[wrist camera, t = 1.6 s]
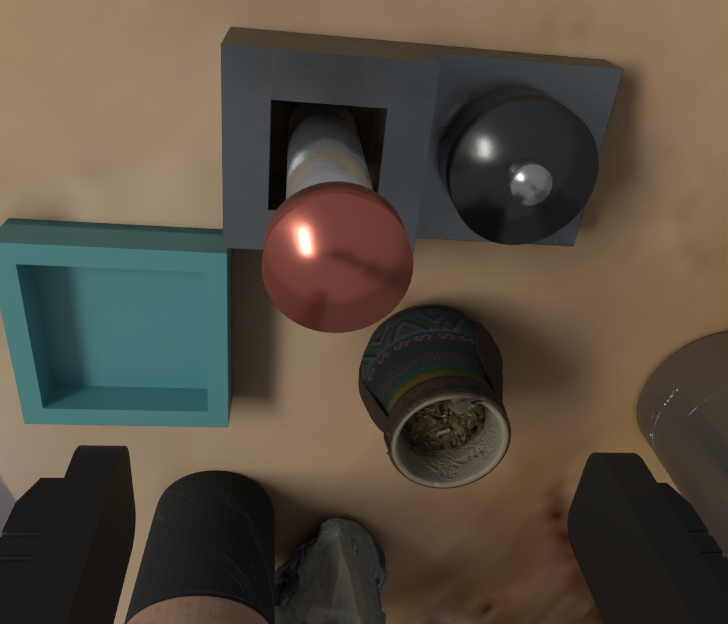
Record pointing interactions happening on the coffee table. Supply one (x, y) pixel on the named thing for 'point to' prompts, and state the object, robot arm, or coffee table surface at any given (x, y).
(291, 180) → the lock pin
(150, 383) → the tray
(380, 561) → the mineral rock
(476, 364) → the mate gourd
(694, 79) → the coffee table surface
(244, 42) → the block
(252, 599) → the travel mug
